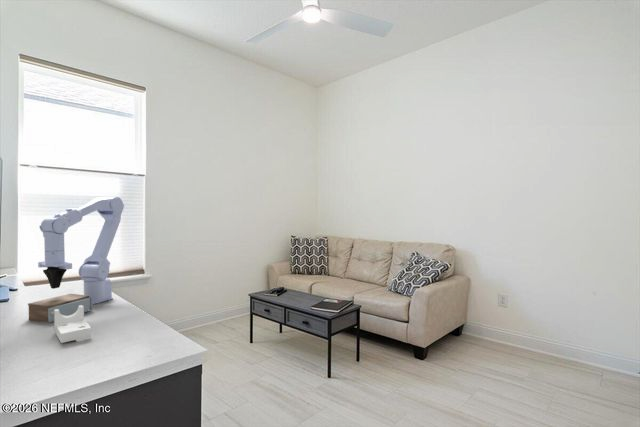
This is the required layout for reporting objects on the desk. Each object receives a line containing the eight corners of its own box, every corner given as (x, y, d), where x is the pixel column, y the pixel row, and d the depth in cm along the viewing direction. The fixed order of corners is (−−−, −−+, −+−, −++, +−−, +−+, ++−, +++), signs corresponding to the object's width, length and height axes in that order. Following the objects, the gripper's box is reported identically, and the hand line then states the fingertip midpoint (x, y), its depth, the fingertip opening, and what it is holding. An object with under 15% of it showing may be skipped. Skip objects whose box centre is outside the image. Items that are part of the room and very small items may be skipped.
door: (90, 309, 128) (90, 297, 128) (93, 310, 128) (93, 297, 128) (48, 321, 114) (48, 308, 114) (51, 322, 114) (51, 308, 114)
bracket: (54, 334, 105) (54, 309, 105) (82, 328, 110) (82, 305, 110) (61, 346, 96) (60, 319, 96) (91, 339, 101) (90, 314, 101)
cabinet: (70, 308, 131) (70, 293, 131) (89, 310, 128) (89, 295, 128) (28, 319, 118) (27, 303, 118) (48, 322, 114) (48, 306, 114)
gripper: (28, 251, 123) (29, 288, 123) (57, 252, 118) (58, 292, 119) (49, 248, 130) (50, 284, 130) (77, 250, 125) (78, 287, 125)
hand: (55, 287), depth 125 cm, fingers closed
